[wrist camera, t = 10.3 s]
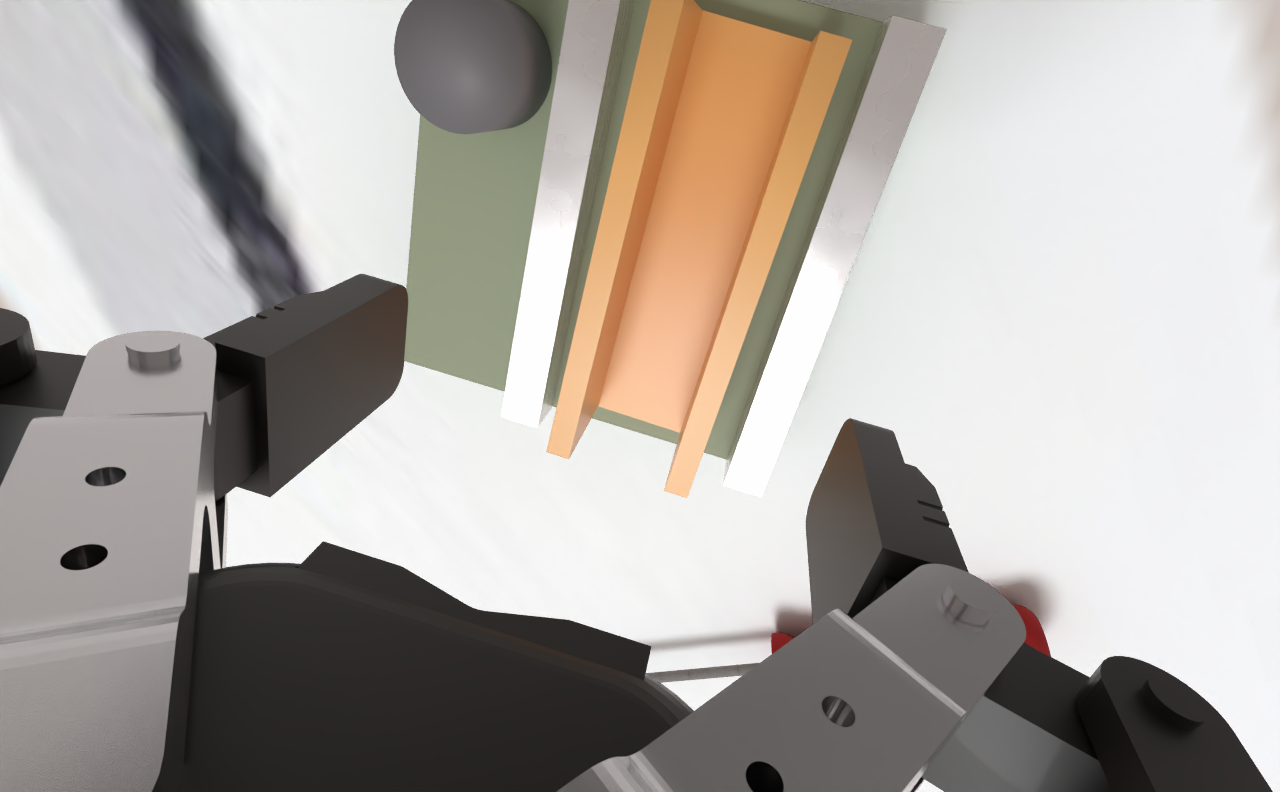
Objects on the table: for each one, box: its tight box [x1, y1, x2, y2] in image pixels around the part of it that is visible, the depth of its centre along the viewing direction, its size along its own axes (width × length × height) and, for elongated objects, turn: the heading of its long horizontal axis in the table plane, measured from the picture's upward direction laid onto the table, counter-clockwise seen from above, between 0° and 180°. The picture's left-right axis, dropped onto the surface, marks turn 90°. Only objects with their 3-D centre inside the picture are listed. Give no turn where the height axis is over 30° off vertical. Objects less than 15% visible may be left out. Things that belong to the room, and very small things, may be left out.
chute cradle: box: [501, 0, 947, 497], centre depth 23 cm, size 16×10×2 cm, turn 166°
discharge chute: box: [547, 0, 852, 498], centre depth 21 cm, size 14×5×5 cm, turn 165°
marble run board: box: [394, 0, 882, 459], centre depth 24 cm, size 16×16×6 cm
